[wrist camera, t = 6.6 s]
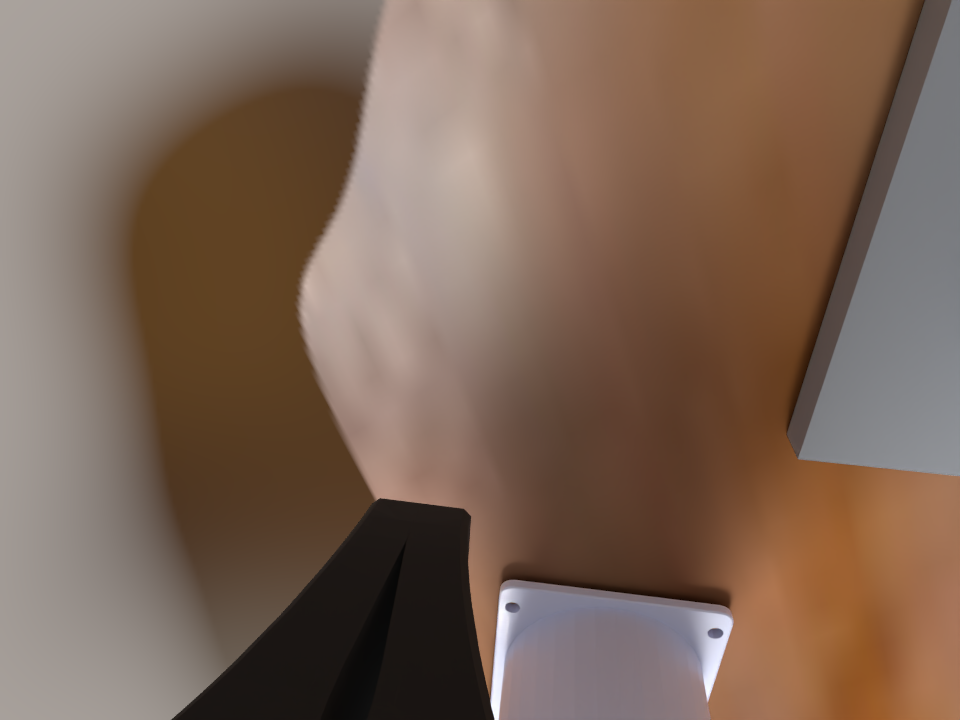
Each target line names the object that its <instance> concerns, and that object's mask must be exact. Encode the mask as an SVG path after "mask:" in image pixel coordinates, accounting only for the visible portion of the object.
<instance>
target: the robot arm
mask: <svg viewBox="0 0 960 720" xmlns="http://www.w3.org/2000/svg"><path fill="white" fill-rule="evenodd" d="M470 525H471V516H470V515H469V514H468V513H467V512H466V511H465V510H464V509H460V508H452V507H445V506H437V505H429V504H421V503H413V502H405V501H397V500H389V499H381V498H380V499H378V500H377V501H375V502H374V503H372V505H371V506H370V507H369V509H368V510H367V512H366V513H365V514H364V516H363V517H362V519H361V520H360V521H359V522H358V524H357V525H356V527H355V528H354V529H353V530H352V532H351V533H350V534H349V536H348V537H347V538H346V539H345V541H344V542H343V543H342V544H341V546H340V547H339V548H338V549H337V551H336V552H335V553H334V554H333V555H332V557H331V558H330V559H329V560H328V561H327V563H326V564H325V565H324V566H323V567H322V569H321V570H320V571H319V572H318V573H317V574H316V575H315V577H314V578H313V579H312V580H311V581H310V582H309V583H308V584H307V586H306V587H305V588H304V589H303V590H302V592H301V593H300V594H299V595H298V596H297V597H296V598H295V599H294V600H293V601H292V603H291V604H290V605H289V606H288V607H287V608H286V609H285V610H284V611H283V613H282V614H281V615H280V616H279V617H278V618H277V619H276V620H275V621H274V622H273V623H272V624H271V625H270V626H269V627H268V628H267V629H266V630H265V631H264V632H263V633H262V634H261V635H260V636H259V637H258V638H257V639H256V640H255V641H254V642H253V643H252V645H250V646H249V647H248V649H247V650H246V651H245V652H244V653H243V654H242V655H241V656H240V657H239V658H238V659H237V660H236V661H235V662H234V663H233V664H232V665H231V666H230V667H229V668H228V669H226V671H224V672H223V673H222V674H221V675H220V676H219V677H218V678H217V679H216V680H215V681H214V682H213V683H212V684H211V685H210V686H208V687H207V688H206V689H205V690H204V691H203V692H202V693H201V694H200V695H199V696H198V697H196V699H194V700H193V701H192V702H191V703H190V704H189V705H187V706H186V707H185V708H184V709H183V710H182V711H181V712H180V713H178V714H177V715H176V716H175V717H174V718H173V719H172V720H711V718H710V712H709V707H708V700H709V697H710V694H711V691H712V688H713V685H714V682H715V679H716V675H717V672H718V669H719V666H720V663H721V660H722V657H723V654H724V651H725V648H726V645H727V642H728V639H729V636H730V633H731V630H732V626H733V617H732V613H731V611H730V609H728V608H727V607H725V606H722V605H716V604H708V603H700V602H692V601H684V600H675V599H667V598H659V597H651V596H643V595H635V594H627V593H619V592H611V591H603V590H594V589H586V588H578V587H570V586H562V585H554V584H546V583H538V582H530V581H522V580H508V581H505V582H504V583H503V584H501V587H500V593H499V605H498V617H497V629H496V641H495V653H494V665H493V677H492V689H491V701H490V698H489V694H488V690H487V685H486V681H485V676H484V672H483V667H482V662H481V657H480V652H479V647H478V641H477V634H476V628H475V622H474V615H473V609H472V602H471V594H470V584H469V570H468V554H469V539H470ZM509 602H514V603H517V604H511V603H509ZM712 628H717V629H712Z"/></svg>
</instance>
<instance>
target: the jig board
mask: <svg viewBox="0 0 960 720" xmlns="http://www.w3.org/2000/svg"><path fill="white" fill-rule="evenodd" d="M787 436H788V439H789V441H790V443H791V445H792V447H793V449H794V452H795V454H796V456H797V458H798V459H802V460H811V461H821V462H830V463H840V464H849V465H859V466H868V467H878V468H887V469H897V470H906V471H915V472H925V473H934V474H944V475H953V476H960V0H925V2H924V5H923V8H922V11H921V14H920V18H919V21H918V24H917V27H916V30H915V33H914V36H913V40H912V43H911V46H910V49H909V52H908V55H907V58H906V61H905V65H904V68H903V71H902V74H901V77H900V80H899V83H898V87H897V90H896V93H895V96H894V99H893V102H892V105H891V108H890V112H889V115H888V118H887V121H886V124H885V127H884V130H883V134H882V137H881V140H880V143H879V146H878V149H877V152H876V156H875V159H874V162H873V165H872V168H871V171H870V174H869V177H868V181H867V184H866V187H865V190H864V193H863V196H862V199H861V203H860V206H859V209H858V212H857V215H856V218H855V221H854V224H853V228H852V231H851V234H850V237H849V240H848V243H847V246H846V250H845V253H844V256H843V259H842V262H841V265H840V268H839V272H838V275H837V278H836V281H835V284H834V287H833V290H832V293H831V297H830V300H829V303H828V306H827V309H826V312H825V315H824V319H823V322H822V325H821V328H820V331H819V334H818V337H817V340H816V344H815V347H814V350H813V353H812V356H811V359H810V362H809V366H808V369H807V372H806V375H805V378H804V381H803V384H802V388H801V391H800V394H799V397H798V400H797V403H796V406H795V409H794V413H793V416H792V419H791V422H790V425H789V428H788V431H787Z"/></svg>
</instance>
